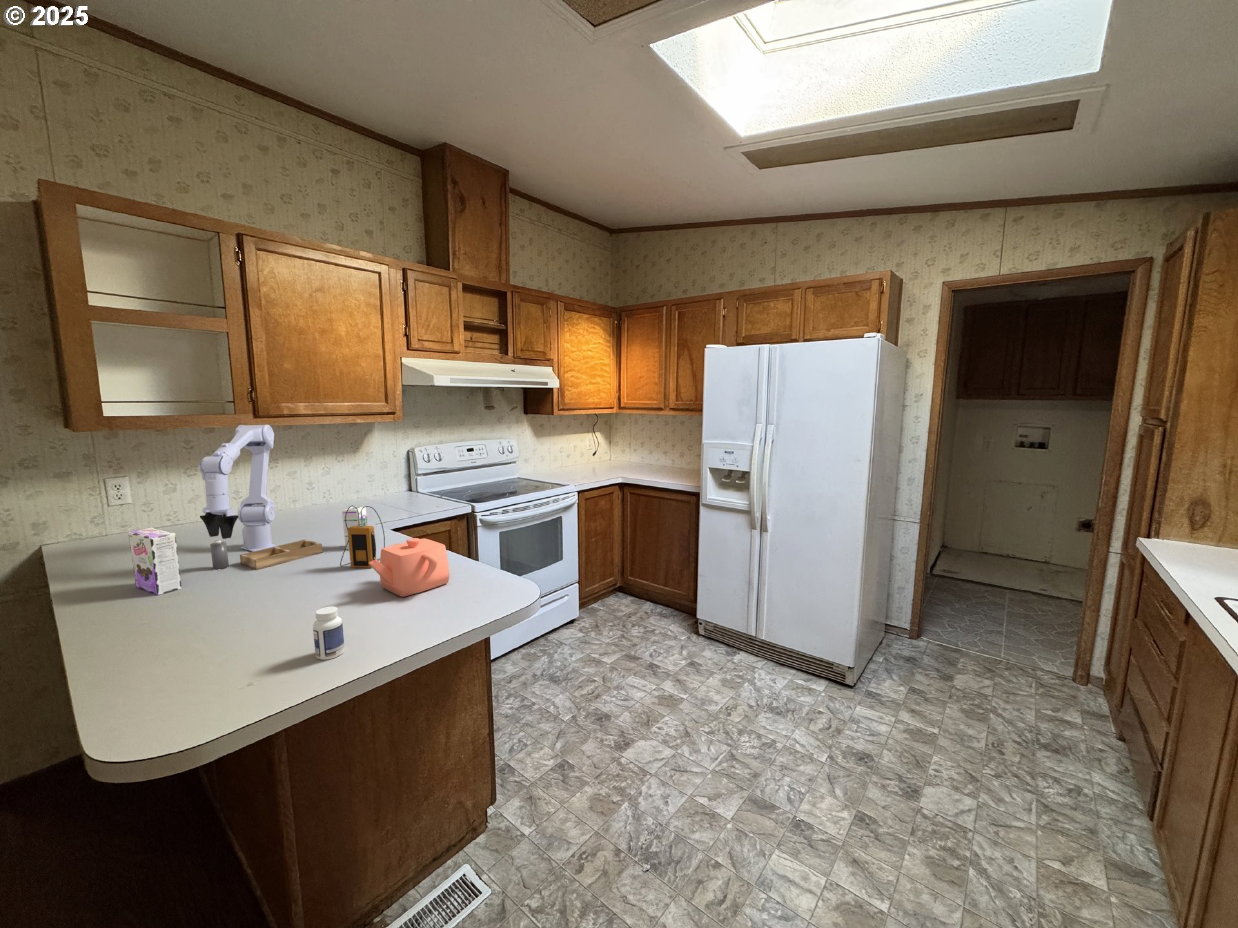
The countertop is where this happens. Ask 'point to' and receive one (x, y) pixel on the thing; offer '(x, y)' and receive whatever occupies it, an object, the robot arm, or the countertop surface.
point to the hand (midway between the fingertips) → (220, 537)
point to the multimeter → (361, 543)
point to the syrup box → (353, 520)
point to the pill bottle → (328, 633)
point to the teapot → (412, 566)
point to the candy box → (155, 560)
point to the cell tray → (280, 554)
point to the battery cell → (219, 555)
